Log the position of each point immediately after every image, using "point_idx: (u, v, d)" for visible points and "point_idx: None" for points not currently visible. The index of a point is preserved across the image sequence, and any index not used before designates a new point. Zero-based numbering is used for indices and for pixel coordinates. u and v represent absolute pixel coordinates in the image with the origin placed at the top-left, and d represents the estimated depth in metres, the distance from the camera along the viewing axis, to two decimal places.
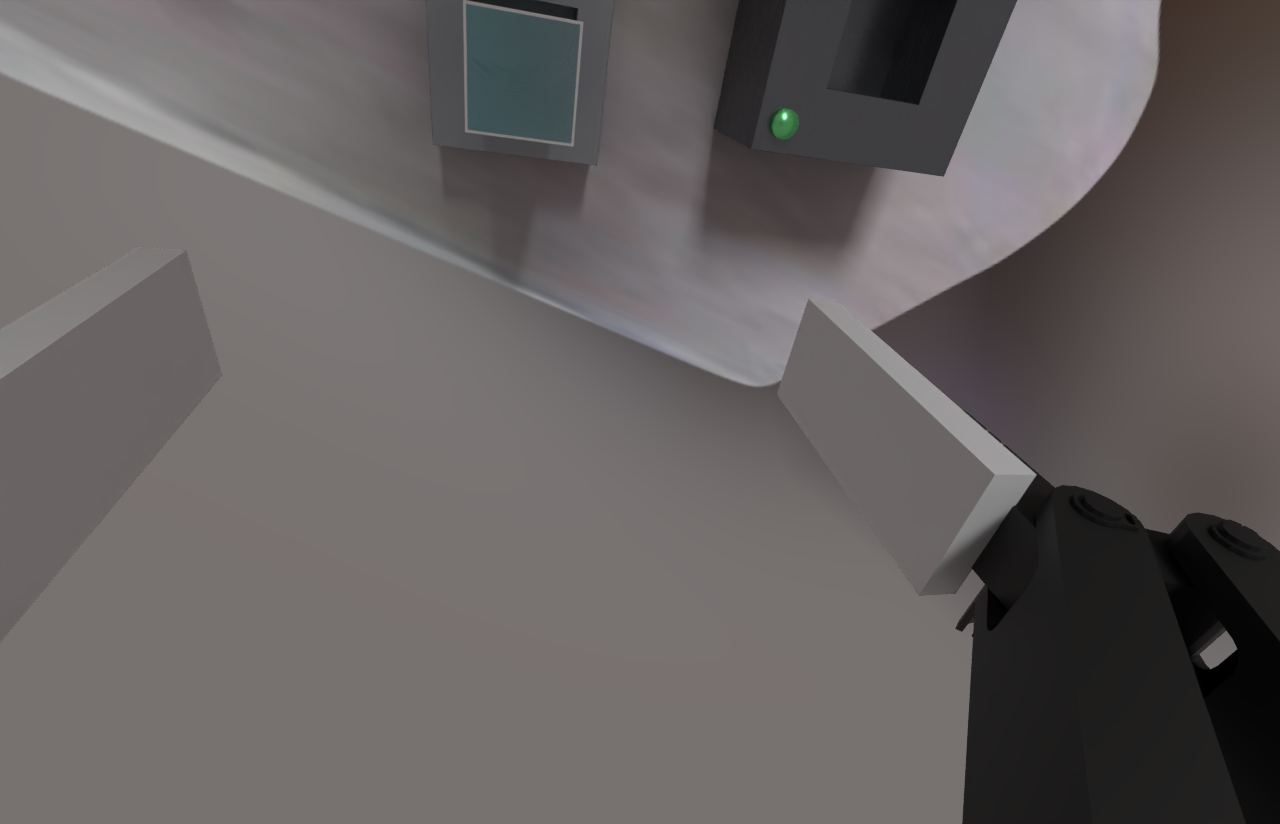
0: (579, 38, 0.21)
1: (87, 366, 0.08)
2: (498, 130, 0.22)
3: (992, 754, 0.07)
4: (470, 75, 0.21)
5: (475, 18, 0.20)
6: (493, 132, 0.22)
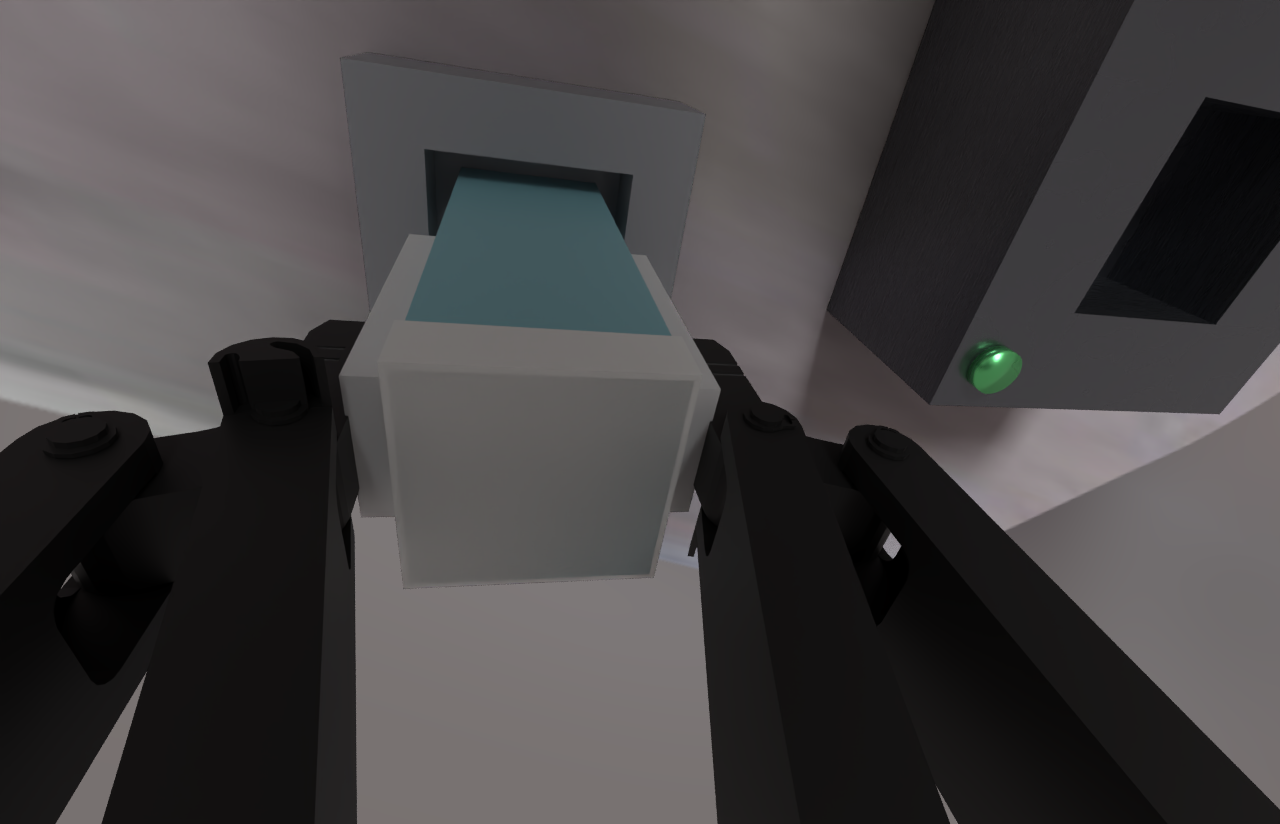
0: (688, 406, 0.08)
1: None
2: (483, 576, 0.09)
3: (722, 683, 0.07)
4: (409, 500, 0.08)
5: (416, 395, 0.07)
6: (470, 573, 0.10)
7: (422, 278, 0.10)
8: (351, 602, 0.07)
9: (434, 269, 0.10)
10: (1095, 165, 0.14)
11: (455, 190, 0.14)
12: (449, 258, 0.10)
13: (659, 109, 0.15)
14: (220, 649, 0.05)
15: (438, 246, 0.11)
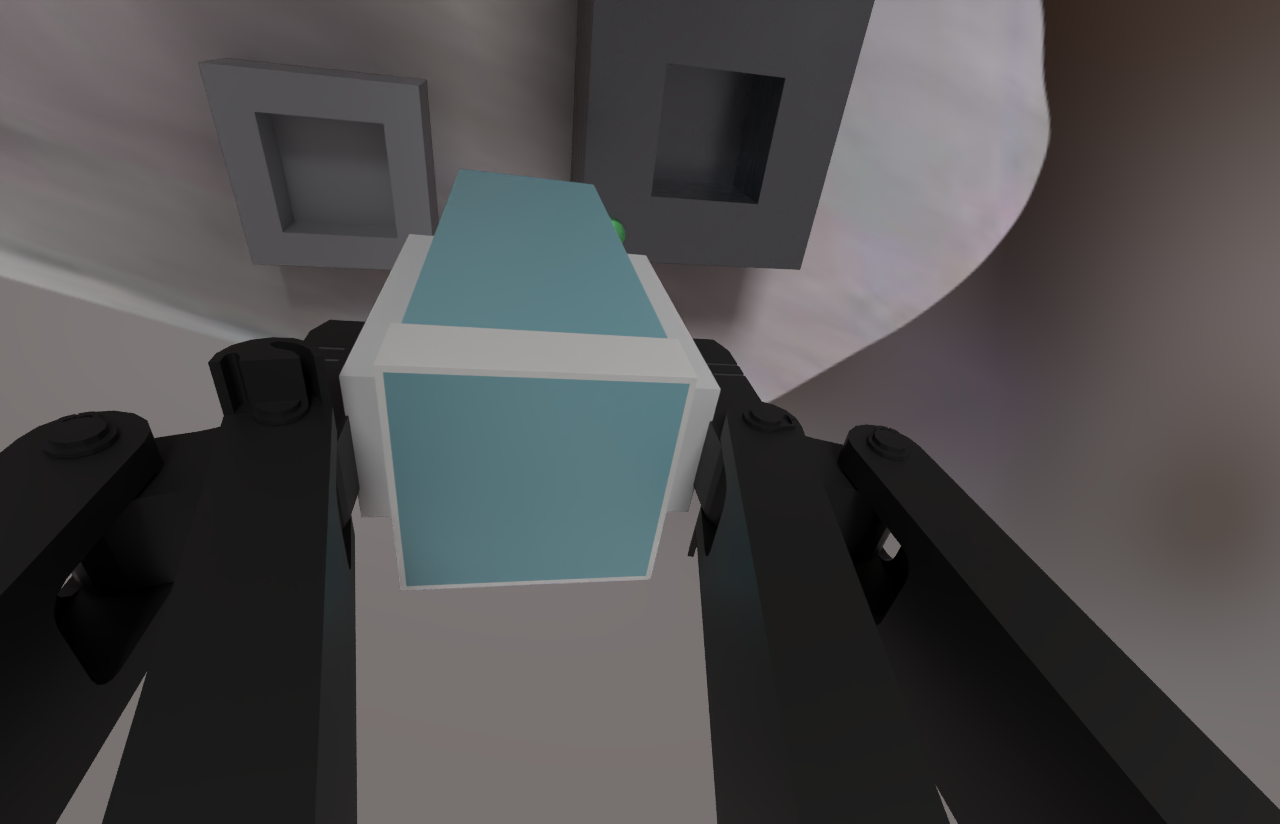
0: (684, 408, 0.08)
1: None
2: (480, 578, 0.09)
3: (722, 683, 0.07)
4: (406, 502, 0.08)
5: (412, 398, 0.07)
6: (467, 575, 0.10)
7: (419, 280, 0.10)
8: (351, 602, 0.07)
9: (431, 271, 0.10)
10: (617, 104, 0.25)
11: (453, 192, 0.14)
12: (447, 261, 0.10)
13: (389, 84, 0.26)
14: (220, 649, 0.05)
15: (435, 248, 0.11)
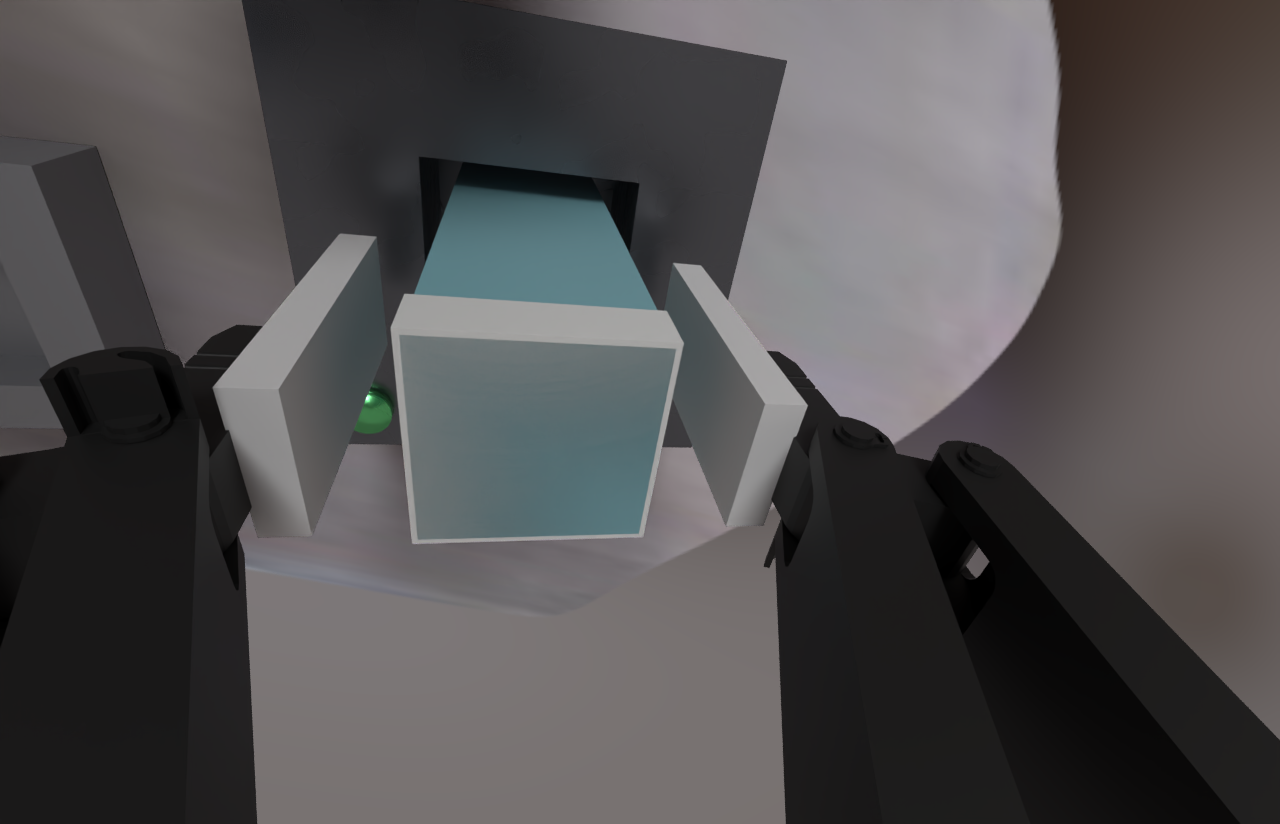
0: (671, 372, 0.09)
1: (343, 326, 0.10)
2: (485, 533, 0.10)
3: (798, 690, 0.07)
4: (418, 458, 0.09)
5: (426, 360, 0.08)
6: (473, 531, 0.10)
7: (428, 259, 0.10)
8: (241, 624, 0.07)
9: (439, 251, 0.11)
10: (338, 221, 0.14)
11: (458, 182, 0.15)
12: (453, 242, 0.11)
13: None
14: (67, 692, 0.04)
15: (442, 232, 0.12)
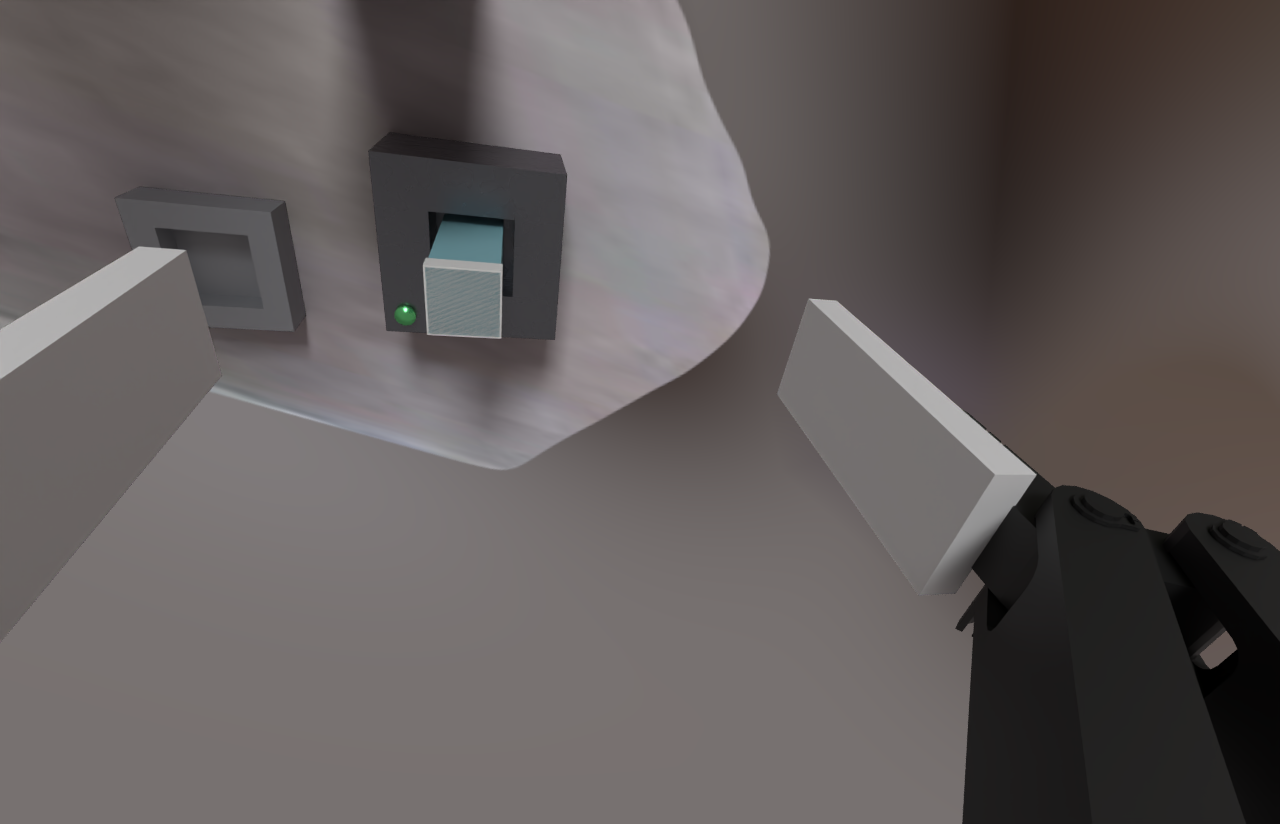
0: (500, 280, 0.32)
1: (87, 366, 0.08)
2: (449, 332, 0.33)
3: (992, 754, 0.07)
4: (429, 304, 0.32)
5: (431, 274, 0.31)
6: (446, 333, 0.33)
7: (432, 248, 0.33)
8: None
9: (435, 246, 0.34)
10: (397, 235, 0.37)
11: (443, 219, 0.38)
12: (440, 243, 0.34)
13: (249, 211, 0.38)
14: None
15: (436, 240, 0.35)
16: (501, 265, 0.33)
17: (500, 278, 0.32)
